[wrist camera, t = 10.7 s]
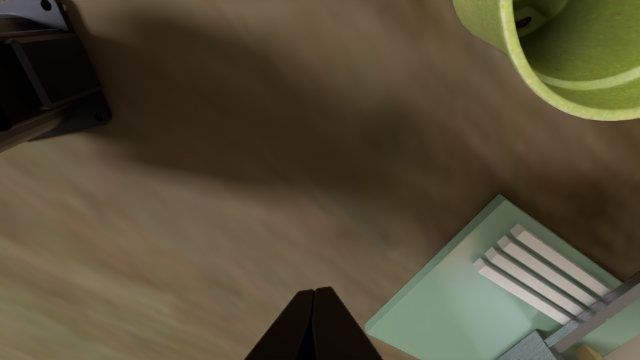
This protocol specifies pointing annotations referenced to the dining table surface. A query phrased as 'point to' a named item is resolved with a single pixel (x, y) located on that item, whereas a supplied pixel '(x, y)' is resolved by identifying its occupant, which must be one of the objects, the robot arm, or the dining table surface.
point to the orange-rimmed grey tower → (576, 325)
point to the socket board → (501, 294)
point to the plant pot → (567, 50)
